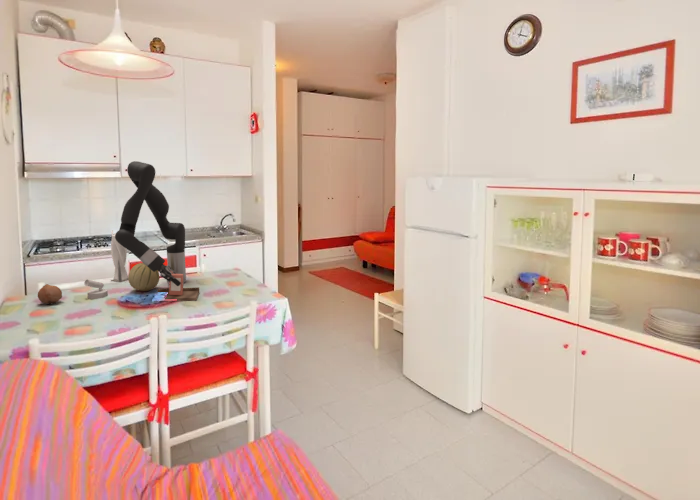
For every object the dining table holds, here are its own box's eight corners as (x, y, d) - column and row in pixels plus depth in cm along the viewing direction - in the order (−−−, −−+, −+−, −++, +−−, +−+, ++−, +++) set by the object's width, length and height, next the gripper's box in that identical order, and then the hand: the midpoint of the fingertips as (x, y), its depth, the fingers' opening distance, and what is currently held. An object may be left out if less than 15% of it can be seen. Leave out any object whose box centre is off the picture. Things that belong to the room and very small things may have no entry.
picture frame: (168, 294, 218) (169, 275, 216) (170, 293, 221) (170, 273, 219) (181, 295, 219) (182, 275, 218) (182, 293, 222) (183, 274, 221)
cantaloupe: (122, 292, 227) (120, 263, 225) (145, 285, 241) (143, 258, 238) (144, 296, 222) (142, 266, 219) (166, 288, 235) (165, 261, 233)
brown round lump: (45, 308, 210) (39, 288, 210) (67, 301, 213) (61, 281, 213) (38, 307, 201) (31, 286, 201) (60, 299, 204) (54, 279, 204)
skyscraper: (109, 280, 249) (104, 231, 244) (121, 277, 256) (117, 229, 251) (120, 282, 246) (116, 232, 241) (132, 279, 253) (128, 230, 248)
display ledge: (152, 302, 212) (151, 296, 212) (157, 294, 225) (157, 288, 224) (196, 300, 216) (195, 294, 216) (199, 293, 229) (199, 287, 228)
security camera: (79, 278, 215) (98, 274, 224) (81, 297, 217) (100, 292, 226) (91, 281, 212) (110, 276, 221) (92, 300, 214) (111, 295, 222)
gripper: (154, 257, 208) (183, 282, 213) (160, 251, 222) (187, 275, 226) (143, 268, 208) (172, 293, 213) (150, 262, 222) (177, 285, 226)
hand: (180, 283), depth 220 cm, fingers closed on picture frame, 3 cm apart
